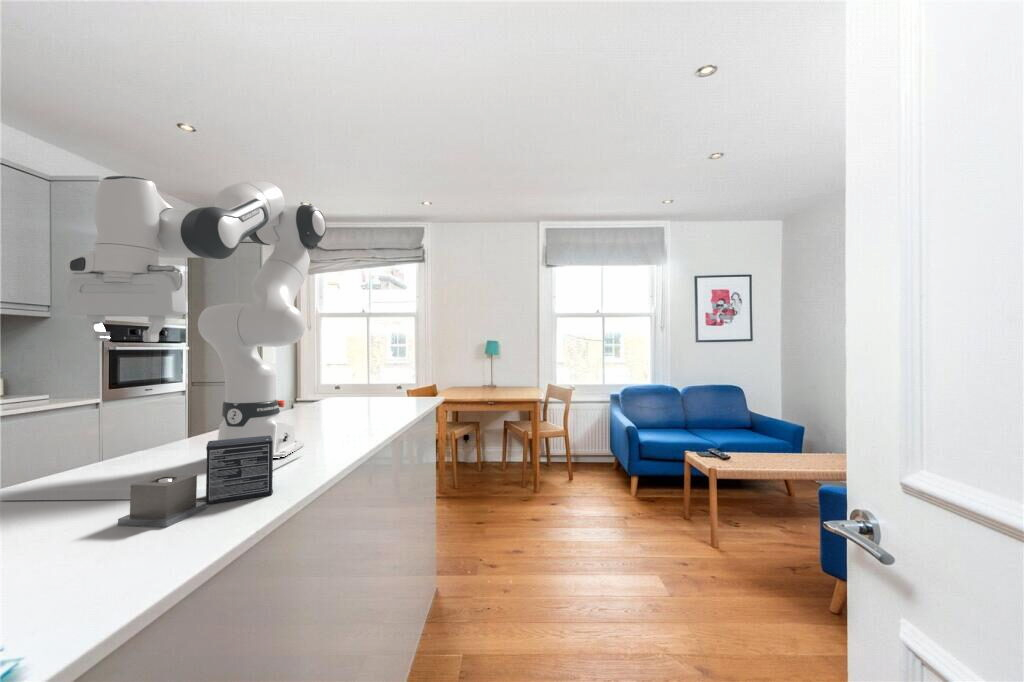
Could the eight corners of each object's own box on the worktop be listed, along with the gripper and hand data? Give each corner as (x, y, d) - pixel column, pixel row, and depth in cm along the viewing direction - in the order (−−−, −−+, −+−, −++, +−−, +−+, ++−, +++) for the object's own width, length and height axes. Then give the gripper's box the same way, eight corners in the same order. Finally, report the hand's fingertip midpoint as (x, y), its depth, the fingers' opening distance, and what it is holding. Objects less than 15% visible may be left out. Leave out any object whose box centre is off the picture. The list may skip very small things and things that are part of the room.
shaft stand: (162, 506, 75) (163, 472, 75) (206, 508, 74) (207, 473, 75) (117, 525, 67) (118, 486, 67) (166, 527, 66) (167, 488, 67)
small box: (270, 486, 87) (272, 433, 87) (273, 495, 81) (274, 439, 82) (206, 495, 81) (208, 439, 81) (204, 505, 76) (206, 446, 76)
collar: (162, 503, 74) (163, 473, 74) (196, 504, 73) (197, 474, 74) (129, 516, 68) (130, 484, 68) (165, 518, 67) (166, 486, 68)
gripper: (195, 268, 81) (194, 342, 81) (92, 268, 82) (91, 341, 82) (167, 262, 74) (165, 342, 74) (56, 262, 76) (54, 340, 75)
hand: (125, 341), depth 78 cm, fingers open, 8 cm apart
